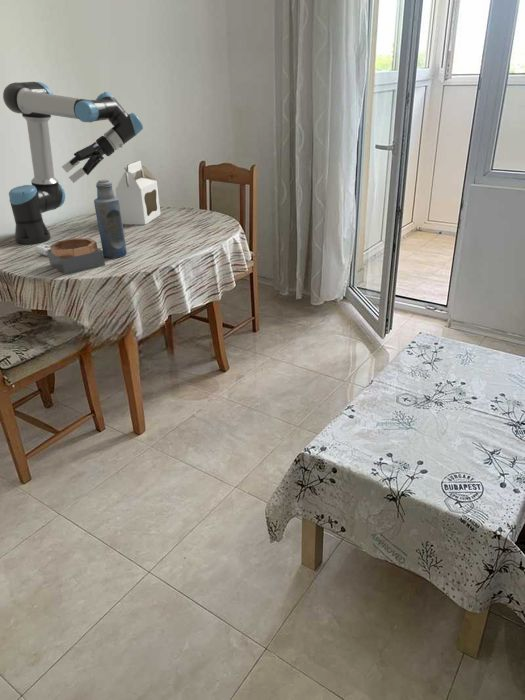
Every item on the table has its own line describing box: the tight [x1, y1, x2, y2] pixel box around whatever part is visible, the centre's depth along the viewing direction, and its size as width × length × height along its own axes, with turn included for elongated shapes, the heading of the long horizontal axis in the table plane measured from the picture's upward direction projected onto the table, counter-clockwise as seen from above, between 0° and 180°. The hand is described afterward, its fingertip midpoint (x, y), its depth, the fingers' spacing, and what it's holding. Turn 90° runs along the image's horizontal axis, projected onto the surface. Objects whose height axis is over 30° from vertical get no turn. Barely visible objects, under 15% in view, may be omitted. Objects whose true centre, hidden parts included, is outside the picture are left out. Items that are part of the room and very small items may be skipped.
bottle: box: [93, 179, 128, 259], centre depth 212 cm, size 10×10×30 cm
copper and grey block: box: [46, 237, 106, 276], centre depth 206 cm, size 16×16×8 cm
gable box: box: [115, 159, 161, 226], centre depth 266 cm, size 22×13×28 cm, turn 169°
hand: (67, 175), depth 211 cm, fingers open, 13 cm apart
